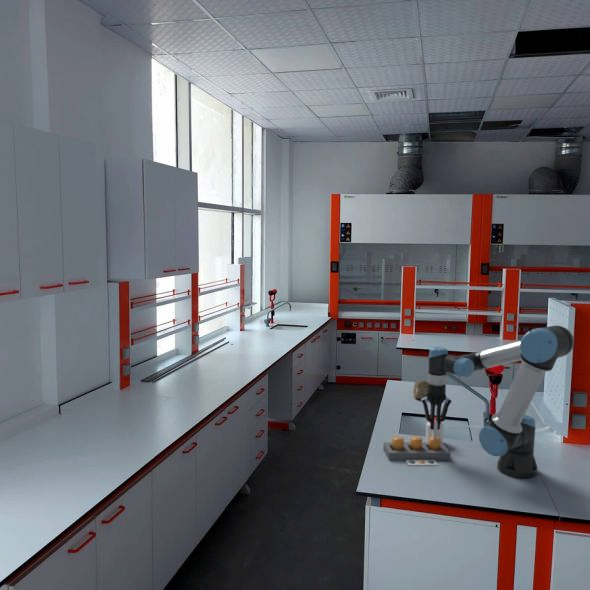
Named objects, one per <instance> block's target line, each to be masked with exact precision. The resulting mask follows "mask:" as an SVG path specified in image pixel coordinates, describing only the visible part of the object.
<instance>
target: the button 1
mask: <svg viewBox="0 0 590 590" xmlns="http://www.w3.org/2000/svg"><path fill="white" fill-rule="evenodd" d="M404 441H405V438H404V437H401V436H393V437H392V438H391V442H392V449H393V450H404Z"/></svg>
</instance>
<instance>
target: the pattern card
mask: <svg viewBox="0 0 590 590" xmlns="http://www.w3.org/2000/svg"><path fill="white" fill-rule="evenodd" d="M405 462H406V464H407V465H408V467H410V466H411V467H413V466H416V467H417V466H418V467H419V466H421V467H424V466H425V467H426V466H427V467H429V466H432V467H434V466H438V463H437V462H436V460H405Z"/></svg>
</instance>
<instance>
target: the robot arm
mask: <svg viewBox="0 0 590 590" xmlns="http://www.w3.org/2000/svg"><path fill="white" fill-rule="evenodd" d="M574 345H575V338H574V335H573V333H572V332H571V331H570V330H569V329H568V328H566V327H564V326H561V325H551V326H546V327H545V326H544V327H537V328H534V329H531V330H529V331H528V332H525V334H524V335H523V336H522V338H521V340H518V341H514V342H511V343H506V344H502V345H499V346H496V347H492V348H488V349H485V350H480V351H476V352H472V353H467V354H461V355H458V356H457V355H452V354H448V353H449V352H448V349H447V348H445V347H443V346H442V347H441V346H434V347H430V349H429V353H428V371H427V372H428V374H427V375H428V376H427V382H429V383H428V391H427V395H426V397H425V398H421V399H420V401H421V403H422V405H423V410H424V414H425V419H426V421H427V422H429V421H430V429H431V430H432V436H433V438H437V430H439V429H440V423H443V422H445V420H446V416H447V413H448V410H449V407H450V405H451V403H452V400H451V399H450V398H448V397H447V395H446V392H447V385H446V383H447V373H448V374H450V375H455V376H458V377H463V378H469V377H471V375H472V374H473V373H474V372H478V371H484V370H486V369H489V368H494V367H498V366H499V367H500V366H503V365H507V364H511V363H516V362H519V361H520V362H521V363H520V365H519V367H518V369H517V371H516V374H515V377H514V378H513V380H512V382H511V385H510V386H509V389H508V391H507V394H506V395H505V398H504V400H503V402H502V405H501V407H500V408H499V411H498V412H497V413H493V414H492V416H491V418H490V420H489V423H488V425H485V426H484V427H482V428H481V429H480V430H479V433H478V434H479V435H478V440H479V444H480V446H481V448H482V450H484V451H485V452H486V454H488V455H490V456H493V457H499V458H498V460H497V464H496V468H497V471H499V472H500V473H502V474H504V475H506V476H509V477H513V478H518V479H519V478H520V479H530V478H535V477H536V476H537V475H538V465H537V462H536V458H535V455H534V453H535V452H534V451H535V436H536V420H535V418H533V416H529V415H527V414H526V413H527V411H528V409H529V407H530V406H531V403H532V402H533V399H534V397H535V395H536V392H537V391H538V388H539V386H540V384H541V382H542V380H543V377H544V376H545V374H546V373H547V372H550V371H552V370H553V369H554V366H555V364H556V362H557V360H558V358H562V357H565V356H567V355H568V354H569V353H571V352H572V350H573V348H574ZM428 402H429V403H430V404H429V405H430V412H429V407H428V404H427V403H428ZM443 403H444V404H443ZM442 404H443V406H442ZM435 417H436V421H434V419H435Z"/></svg>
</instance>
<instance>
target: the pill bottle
mask: <svg viewBox="0 0 590 590" xmlns="http://www.w3.org/2000/svg"><path fill="white" fill-rule="evenodd" d="M434 421H436V416H435V419H434ZM425 424H426V425H425V442H429V437H433V436H432V430H431V429H430V421H427V422H426V423H425ZM444 429H445V428H444V424H443V422H441V423H440V429H439V430H437V437H439V438H440V439H441V442H442V443H443V444H444Z"/></svg>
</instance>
